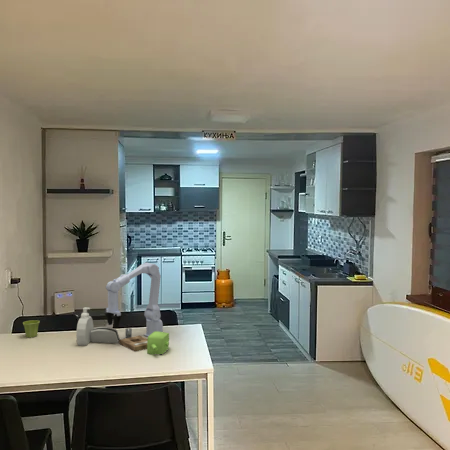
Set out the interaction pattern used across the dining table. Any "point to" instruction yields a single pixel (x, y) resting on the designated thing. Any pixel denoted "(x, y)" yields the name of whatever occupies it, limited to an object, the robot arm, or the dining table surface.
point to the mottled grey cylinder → (128, 333)
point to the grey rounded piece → (104, 335)
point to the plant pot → (31, 328)
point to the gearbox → (157, 342)
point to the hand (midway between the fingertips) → (113, 326)
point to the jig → (134, 343)
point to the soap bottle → (84, 328)
